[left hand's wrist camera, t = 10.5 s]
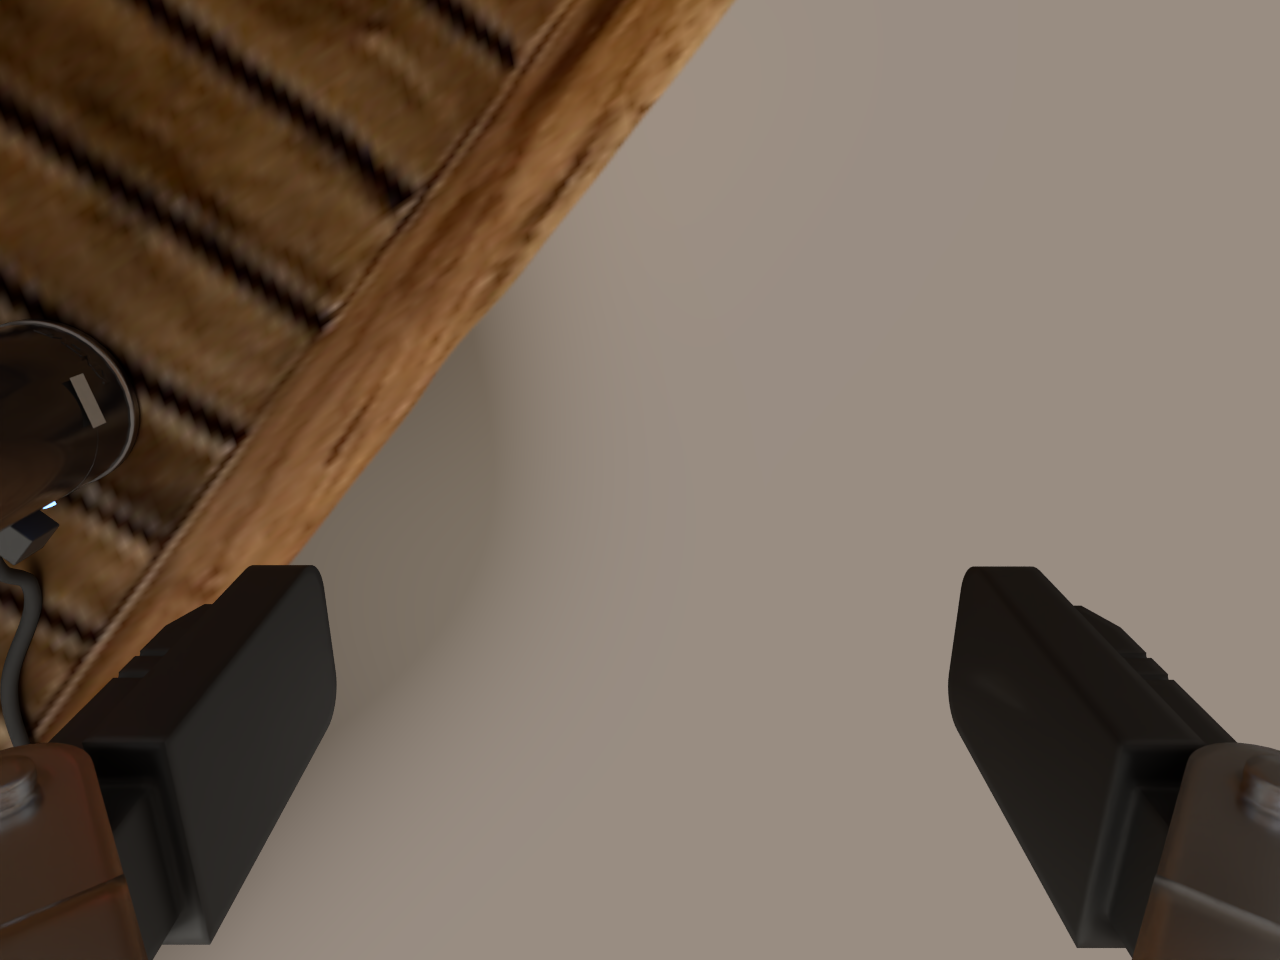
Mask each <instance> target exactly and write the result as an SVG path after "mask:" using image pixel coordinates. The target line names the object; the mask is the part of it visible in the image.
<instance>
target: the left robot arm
mask: <svg viewBox="0 0 1280 960" xmlns="http://www.w3.org/2000/svg"><path fill="white" fill-rule="evenodd" d="M138 428H139V408H138V402H137V398H136V395H135V391H134V389H133V386H132V384H131V382H130V380H129V378H128V376H127V374H126V372H125V371H124V369H123V368H122V366H121V365H120V364H119V362H118V361H117V360H116V359H115V357H114V356H113V355H112V354H111V353H110V352H109V351H108V350H107V349H106V348H105V347H104V346H102V345H101V344H100V343H99V342H98V341H96V340H95V339H93V338H92V337H91V336H89V335H87V334H85V333H84V332H82V331H80V330H78V329H76V328H74V327H71V326H69V325H66V324H63V323H59V322H56V321H51V320H44V319H25V320H19V321H14V322H10V323H5V324H2V325H0V581H1V582H4V583H8V584H14V585H19V586H20V587H21V588H22V590H23V593H24V610H23V614H22V618H21V621H20V624H19V626H18V629H17V632H16V634H15V637H14V639H13V641H12V644H11V646H10V649H9V652H8V655H7V657H6V660H5V664H4V668H3V672H2V678H1V692H0V693H1V705H2V710H3V715H4V719H5V723H6V727H7V730H8V733H9V736H10V738H11V741H12V744H13V746H14V747H12V748H8V749H4V750H1V751H0V960H153V958H154V957H155V955H156V953H157V952H158V950H159V948H160V947H161V945H164V944H167V945H168V944H174V945H175V944H176V945H178V944H179V945H182V944H183V945H185V944H188V945H189V944H194V945H195V944H196V945H198V944H199V945H202V944H203V945H204V944H205V945H206V944H208V945H209V944H211V942H212V940H213V938H214V936H215V935H216V933H217V931H218V929H219V927H220V925H221V923H222V922H223V920H224V918H225V916H226V914H227V912H228V911H229V909H230V907H231V905H232V903H233V901H234V900H235V898H236V896H237V894H238V892H239V890H240V888H241V887H242V885H243V883H244V881H245V879H246V877H247V876H248V874H249V872H250V870H251V868H252V866H253V865H254V863H255V861H256V859H257V857H258V855H259V854H260V852H261V850H262V848H263V846H264V844H265V843H266V841H267V839H268V837H269V835H270V833H271V831H272V830H273V828H274V826H275V824H276V822H277V820H278V819H279V817H280V815H281V813H282V811H283V809H284V808H285V806H286V804H287V802H288V800H289V798H290V797H291V795H292V793H293V791H294V789H295V787H296V785H297V784H298V782H299V780H300V778H301V776H302V774H303V773H304V771H305V769H306V767H307V765H308V763H309V762H310V760H311V758H312V756H313V754H314V752H315V750H316V749H317V747H318V745H319V743H320V741H321V739H322V738H323V736H324V734H325V732H326V730H327V728H328V726H329V724H330V721H331V719H332V715H333V711H334V706H335V700H336V671H335V664H334V657H333V650H332V642H331V635H330V628H329V621H328V614H327V607H326V599H325V592H324V586H323V581H322V577H321V575H320V572H319V571H318V569H317V568H316V567H315V566H313V565H252V566H249V567H248V568H247V569H245V571H244V572H243V573H242V574H241V575H240V576H239V577H238V578H237V579H236V580H235V581H234V582H233V583H232V584H231V585H230V586H229V587H228V588H227V590H226V591H225V592H224V593H223V594H222V595H221V596H220V597H219V598H218V599H217V600H216V601H215V602H214V603H213V604H204V605H202V606H200V607H198V608H197V609H195V610H193V611H191V612H189V613H188V614H186V615H184V616H182V617H180V618H179V619H177V620H175V621H173V622H171V623H170V624H168V625H166V626H165V627H164V628H163V629H162V630H161V631H160V632H159V633H158V634H157V635H156V636H155V637H154V638H153V639H152V640H151V641H150V642H149V643H148V644H147V645H146V646H145V647H144V648H143V649H142V650H141V651H140V656H135V657H134V658H133V659H132V660H131V661H130V662H129V663H128V664H127V665H126V666H125V667H124V668H123V669H122V670H121V671H120V672H119V677H118V678H113V679H112V680H111V681H110V682H109V683H108V684H107V685H106V686H105V687H104V688H103V689H102V690H101V691H100V692H99V693H98V694H97V695H96V696H95V697H94V698H93V699H92V700H91V701H90V702H89V703H88V704H87V705H86V706H85V707H83V708H82V709H81V710H80V711H79V712H78V713H77V714H76V715H75V716H74V717H73V718H72V719H71V720H70V721H69V722H68V723H67V724H66V725H65V726H64V727H63V728H62V729H61V730H60V731H59V732H58V733H57V734H56V735H55V736H54V737H53V738H52V739H51V740H50V741H49V742H48V743H35V744H31V743H30V741H29V738H28V735H27V732H26V729H25V726H24V723H23V720H22V716H21V712H20V706H19V698H18V681H19V675H20V670H21V667H22V663H23V660H24V657H25V654H26V652H27V649H28V647H29V644H30V642H31V639H32V637H33V635H34V632H35V629H36V627H37V623H38V620H39V617H40V613H41V608H42V594H41V589H40V586H39V583H38V580H37V578H36V577H35V576H34V575H32V574H31V573H28V572H26V571H23V570H18V569H13V568H10V567H8V566H7V564H6V563H5V562H4V560H3V558H4V559H6V560H7V561H8V562H10V563H11V564H13V565H16V564H17V563H19V562H21V561H22V560H24V559H25V558H27V557H28V556H30V555H32V554H33V553H35V552H36V551H38V550H40V549H41V548H43V546H44V545H45V544H46V542H47V541H48V540H49V538H50V537H51V536H52V535H53V533H54V532H55V531H56V529H57V528H58V527H59V524H58V523H57V522H55V521H54V520H53V519H51V518H50V517H48V516H47V515H46V514H44V513H43V512H41V511H40V510H41V509H42V508H44V509H45V508H49V507H51V506H54V505H56V503H55V501H57V500H58V499H60V498H62V497H64V496H66V495H68V494H70V493H71V492H73V491H75V490H77V489H79V488H80V487H82V486H84V485H86V484H88V483H91V482H93V481H96V480H98V479H100V478H101V477H103V476H105V475H107V474H109V473H110V472H112V471H113V470H115V469H116V468H117V467H118V466H119V465H120V464H122V462H123V461H124V460H125V459H126V458H127V456H128V455H129V453H130V452H131V450H132V448H133V446H134V444H135V441H136V438H137V434H138ZM2 557H3V558H2ZM948 694H949V704H950V710H951V714H952V718H953V721H954V724H955V726H956V728H957V731H958V732H959V734H960V736H961V738H962V740H963V741H964V743H965V745H966V747H967V749H968V751H969V752H970V754H971V756H972V758H973V760H974V761H975V763H976V765H977V767H978V769H979V771H980V772H981V774H982V776H983V778H984V780H985V781H986V783H987V785H988V787H989V789H990V791H991V792H992V794H993V796H994V798H995V800H996V801H997V803H998V805H999V807H1000V809H1001V811H1002V812H1003V814H1004V816H1005V818H1006V820H1007V821H1008V823H1009V825H1010V827H1011V829H1012V830H1013V832H1014V834H1015V836H1016V838H1017V840H1018V841H1019V843H1020V845H1021V847H1022V849H1023V850H1024V852H1025V854H1026V856H1027V858H1028V860H1029V861H1030V863H1031V865H1032V867H1033V869H1034V870H1035V872H1036V874H1037V876H1038V878H1039V880H1040V881H1041V883H1042V885H1043V887H1044V889H1045V890H1046V892H1047V894H1048V896H1049V898H1050V900H1051V901H1052V903H1053V905H1054V907H1055V909H1056V911H1057V912H1058V914H1059V916H1060V918H1061V920H1062V921H1063V923H1064V925H1065V927H1066V929H1067V931H1068V932H1069V934H1070V936H1071V938H1072V939H1073V941H1074V943H1075V945H1076V947H1077V948H1126V949H1127V951H1128V952H1129V954H1130V955H1131V957H1132V960H1280V751H1279V750H1276V749H1272V748H1268V747H1263V746H1258V745H1253V744H1244V743H1237V742H1236V741H1235V740H1234V739H1233V738H1232V737H1231V736H1230V735H1229V734H1228V733H1227V732H1226V731H1225V730H1224V729H1223V728H1222V727H1221V726H1220V725H1219V724H1218V723H1217V722H1216V721H1215V720H1214V719H1213V718H1212V717H1211V716H1210V715H1209V714H1208V713H1207V712H1206V711H1205V710H1204V709H1203V708H1202V707H1201V706H1200V705H1199V704H1197V703H1196V702H1195V701H1194V700H1193V699H1192V698H1191V697H1190V696H1189V695H1188V694H1187V693H1186V692H1185V691H1184V690H1183V689H1182V688H1181V687H1180V686H1179V685H1178V684H1177V683H1176V682H1175V681H1174V680H1168V674H1167V673H1166V672H1165V671H1164V670H1163V669H1162V668H1161V667H1160V666H1159V665H1158V664H1157V663H1156V662H1155V661H1154V660H1153V659H1152V658H1147V657H1146V652H1145V651H1144V650H1143V649H1142V648H1141V647H1140V646H1139V645H1138V644H1137V643H1136V642H1135V641H1134V640H1133V639H1132V638H1131V637H1130V636H1129V635H1128V634H1127V633H1126V632H1125V631H1123V629H1121V628H1120V627H1119V626H1117V625H1115V624H1113V623H1111V622H1110V621H1108V620H1106V619H1104V618H1102V617H1101V616H1099V615H1097V614H1095V613H1093V612H1092V611H1090V610H1088V609H1086V608H1084V607H1083V606H1073V605H1072V604H1071V603H1070V602H1069V601H1068V600H1067V599H1066V598H1065V596H1064V595H1063V594H1062V593H1061V592H1060V591H1059V590H1058V589H1057V588H1056V587H1055V586H1054V585H1053V584H1052V583H1051V582H1050V581H1049V580H1048V579H1047V578H1046V577H1045V576H1044V575H1043V574H1042V572H1041V571H1040V570H1038V569H1037V568H1035V567H971V568H969V569H968V570H967V572H966V574H965V576H964V578H963V582H962V586H961V593H960V600H959V607H958V614H957V621H956V628H955V635H954V642H953V649H952V656H951V663H950V670H949V679H948Z"/></svg>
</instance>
